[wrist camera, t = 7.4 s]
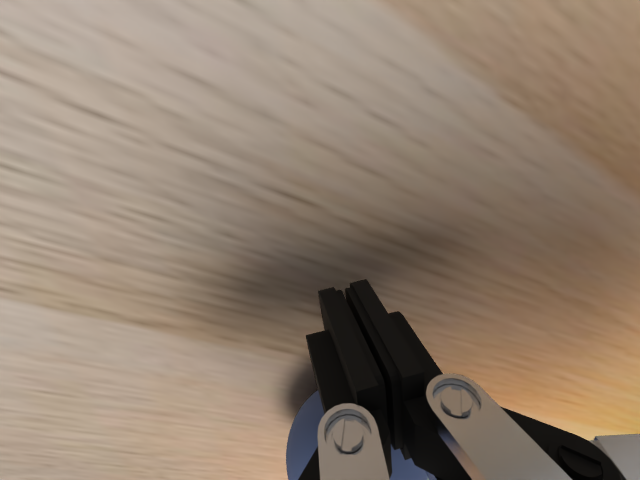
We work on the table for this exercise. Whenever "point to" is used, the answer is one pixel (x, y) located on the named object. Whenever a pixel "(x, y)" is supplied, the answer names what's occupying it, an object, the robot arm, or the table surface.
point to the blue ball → (305, 442)
